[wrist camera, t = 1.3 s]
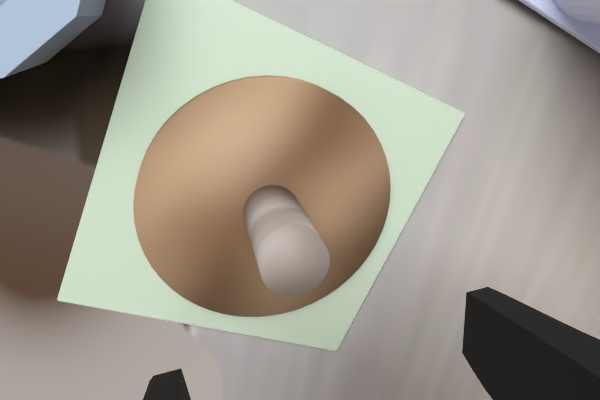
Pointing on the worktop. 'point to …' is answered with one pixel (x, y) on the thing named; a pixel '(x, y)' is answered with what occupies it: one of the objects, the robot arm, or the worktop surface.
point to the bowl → (41, 29)
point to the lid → (261, 196)
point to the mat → (193, 81)
